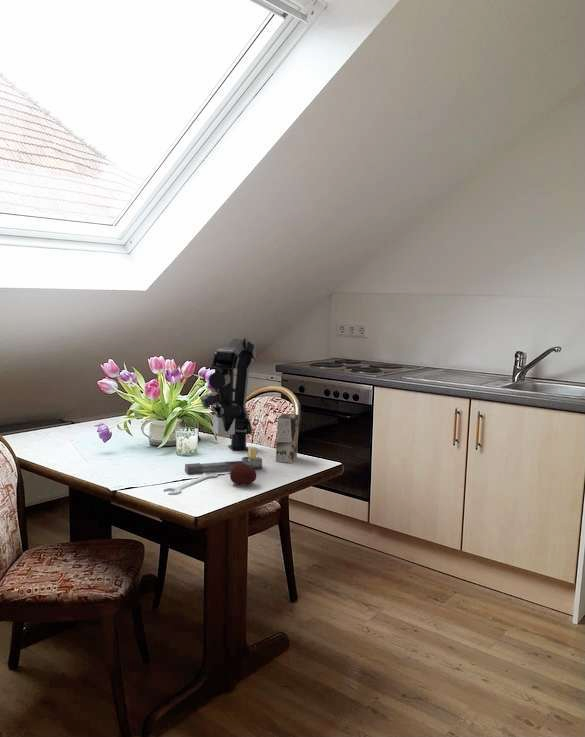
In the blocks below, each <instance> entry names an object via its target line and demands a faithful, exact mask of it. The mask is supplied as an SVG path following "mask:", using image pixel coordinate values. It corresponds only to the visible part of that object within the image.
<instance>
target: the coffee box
mask: <svg viewBox="0 0 585 737" xmlns="http://www.w3.org/2000/svg"><path fill="white" fill-rule="evenodd" d="M299 419H300V414H296V413H294V414H293V413H282V414H280V416H278V417H277V427H276V444H275V445H276V446H275V447H276V448H275V449H276V450H275V462H280V463H286V464H287V463H289V464H293V462H294V461H295V460H296V459H297V457H298V443H299V442H298V440H299V438H298V437H299V422H300V420H299Z"/></svg>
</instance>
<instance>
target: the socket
mask: <svg viewBox="0 0 585 737" xmlns="http://www.w3.org/2000/svg"><path fill="white" fill-rule="evenodd" d="M212 422H213V423H212V424H213V425H212V432H213V433H215V434H216V435H217V436H226V435H232V434H235V419H234V421H233V423H232V425H231V427H230V429H229V431H225V427H224V418H223V416H222V415H221V414H217V413H215V414H213V421H212Z"/></svg>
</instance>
